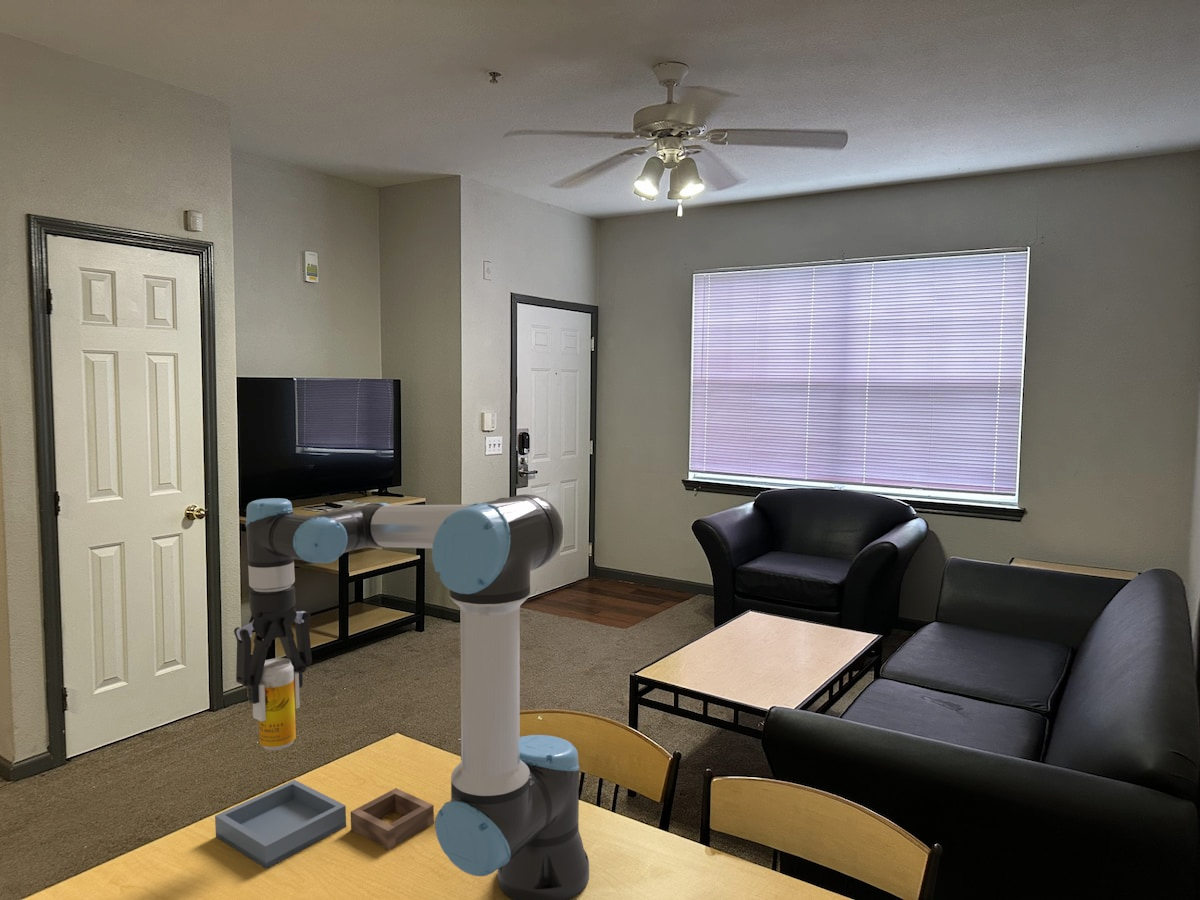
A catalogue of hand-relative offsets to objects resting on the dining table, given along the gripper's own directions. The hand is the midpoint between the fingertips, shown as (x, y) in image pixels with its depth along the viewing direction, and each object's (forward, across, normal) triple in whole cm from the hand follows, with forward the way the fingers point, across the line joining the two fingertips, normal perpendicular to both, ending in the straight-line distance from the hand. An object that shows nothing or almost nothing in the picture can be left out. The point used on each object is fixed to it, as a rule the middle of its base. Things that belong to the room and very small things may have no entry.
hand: (276, 712), depth 146 cm
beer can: (+6, 0, 0) cm, 6 cm away
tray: (+22, 0, 0) cm, 22 cm away
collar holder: (+22, -13, +15) cm, 30 cm away
